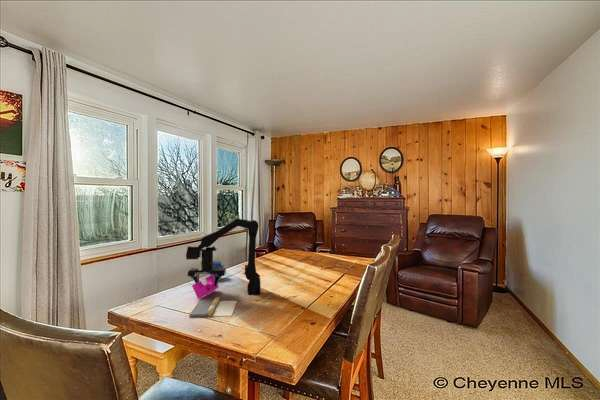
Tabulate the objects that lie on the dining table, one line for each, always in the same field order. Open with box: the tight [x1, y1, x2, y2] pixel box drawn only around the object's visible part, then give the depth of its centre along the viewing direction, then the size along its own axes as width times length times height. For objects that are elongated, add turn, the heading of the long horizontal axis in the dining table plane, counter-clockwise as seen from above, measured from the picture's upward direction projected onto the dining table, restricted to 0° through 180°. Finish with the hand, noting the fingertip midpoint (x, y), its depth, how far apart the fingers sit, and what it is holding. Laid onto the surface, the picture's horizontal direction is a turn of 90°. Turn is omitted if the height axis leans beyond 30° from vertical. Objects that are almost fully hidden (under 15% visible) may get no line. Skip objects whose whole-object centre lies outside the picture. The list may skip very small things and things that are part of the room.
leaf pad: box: [211, 300, 238, 318], centre depth 132 cm, size 8×17×1 cm, turn 5°
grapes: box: [209, 260, 225, 279], centre depth 177 cm, size 12×7×12 cm, turn 145°
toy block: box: [191, 275, 219, 300], centre depth 149 cm, size 15×6×8 cm, turn 168°
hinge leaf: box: [188, 296, 220, 318], centre depth 132 cm, size 9×18×2 cm, turn 5°
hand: (207, 288), depth 150 cm, fingers closed on toy block, 8 cm apart
